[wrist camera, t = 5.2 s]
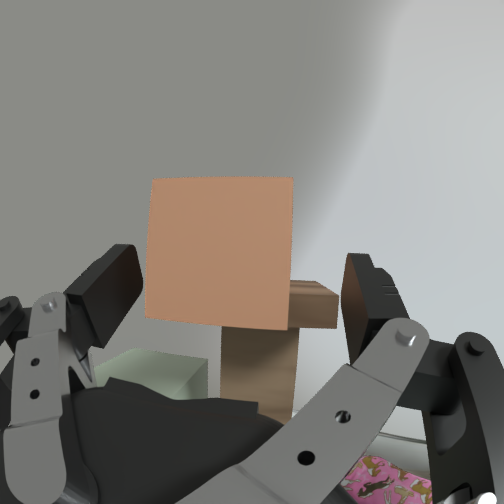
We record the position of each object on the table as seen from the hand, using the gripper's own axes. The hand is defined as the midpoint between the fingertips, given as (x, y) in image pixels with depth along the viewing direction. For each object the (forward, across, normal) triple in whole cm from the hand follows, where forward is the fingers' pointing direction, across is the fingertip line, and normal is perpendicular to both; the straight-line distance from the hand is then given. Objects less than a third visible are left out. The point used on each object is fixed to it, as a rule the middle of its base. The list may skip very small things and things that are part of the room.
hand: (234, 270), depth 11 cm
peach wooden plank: (+7, 0, +6) cm, 9 cm away
